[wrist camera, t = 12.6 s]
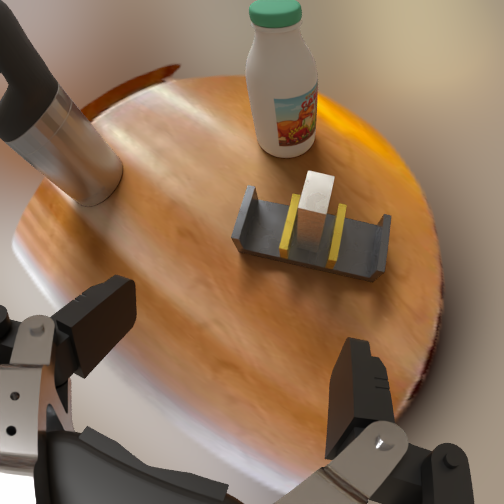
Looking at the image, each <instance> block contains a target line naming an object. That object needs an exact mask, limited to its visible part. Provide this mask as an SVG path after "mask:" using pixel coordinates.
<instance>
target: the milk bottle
mask: <svg viewBox="0 0 504 504" xmlns="http://www.w3.org/2000/svg"><path fill="white" fill-rule="evenodd" d="M249 15H250V19H251V21H252V22H251V25H252V27H253V28H254V29H255V36H254V41H253V44H252V47H251V50H250V52H249V54H248V57H247V61H246V82H247V89H248V94H249V100H250V105H251V110H252V116H253V121H254V126H255V131H256V136H257V140H258V143H259V145H260V146H261V147H262V148H263V149H264V150H265V151H266V152H267V153H269V154H271V155H273V156H276V157H280V158H292V157H296V156H299V155H301V154H303V153H305V152H306V151H307V150H308V149H309V148H310V147H311V146H312V144H313V143H314V140H315V132H316V115H317V90H318V79H317V67H316V63H315V60H314V57H313V55H312V53H311V51H310V49H309V48H308V46H307V45H306V43H305V41H304V39H303V37H302V34H301V32H300V26H301V24H302V20H301V17H302V10H301V6H300V4H299V3H298V2H297V1H295V0H257V1H255V2H254V3H252V4H251V5H250V7H249Z"/></svg>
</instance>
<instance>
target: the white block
mask: <svg viewBox="0 0 504 504" xmlns="http://www.w3.org/2000/svg"><path fill="white" fill-rule="evenodd" d="M334 178H335V177H334V176H330V175H326V174H322V173H318V172H313V171H309V170H308V173H307V177H306V180H305V184H304V188H303V191H302V195H301V198H300V202H299V206H298V228H297V248H300V249H304V250H307V251H311V252H315V253H317V252H318V248H319V244H320V240H321V236H322V232H323V228H324V224H325V219H326V215H327V211H328V206H329V201H330V197H331V192H332V187H333V182H334Z"/></svg>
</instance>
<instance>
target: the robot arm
mask: <svg viewBox="0 0 504 504" xmlns="http://www.w3.org/2000/svg"><path fill="white" fill-rule="evenodd" d="M0 73H2V74H3V76H4V77H5V79H6V81H7V82H8V84H9V85H8V88H7V90H6V92H5V94H4V96H3V97H2V99H1V101H0V138H1V139H2V140H3V141H4V142H5V143H6V144H7V145H9V146H10V147H11V148H12V149H13V150H14V151H16V152H17V153H18V154H19V155H20V156H22V157H23V158H24V159H25V160H26V161H27V162H29V163H30V164H31V165H32V166H33V167H34V168H36V169H37V170H38V171H39V172H41V173H42V174H43V175H44V176H45V177H47V178H48V179H49V180H50V181H51V182H53V183H54V184H55V185H56V186H58V187H59V188H60V189H61V190H63V191H64V192H65V193H66V194H68V195H69V196H70V197H71V198H73V199H74V200H75V201H77V202H78V203H79V204H81V205H83V206H93V205H96V204H99V203H101V202H102V201H104V200H105V199H106V198H107V197H108V196H110V195H111V193H112V192H113V191H114V190H115V188H116V187H117V185H118V183H119V181H120V179H121V176H122V170H123V166H122V162H121V160H120V158H119V157H118V156H117V155H116V154H115V152H114V151H113V150H112V149H111V148H110V146H109V145H108V144H107V143H106V141H105V140H104V139H103V138H102V137H101V135H100V134H99V133H98V132H97V131H96V129H95V128H94V127H93V126H92V124H91V123H90V122H89V121H88V120H87V118H86V117H85V116H84V115H83V113H82V112H81V111H80V110H79V108H78V107H77V106H76V105H75V103H74V102H73V101H72V100H71V99H70V97H69V96H68V95H67V93H66V92H65V91H64V90H63V88H62V87H61V86H60V85H59V83H58V82H57V80H56V79H55V78H54V77H53V75H52V74H51V72H50V71H49V69H48V67H47V66H46V64H45V62H44V61H43V59H42V58H41V57H40V55H39V54H38V53H37V51H36V50H35V48H34V47H33V45H32V44H31V42H30V41H29V39H28V38H27V36H26V34H25V33H24V31H23V29H22V27H21V26H20V24H19V22H18V21H17V19H16V17H15V16H14V14H13V13H12V11H11V10H10V9H9V8H8V6H7V5H6V4H5V3H4V2H3V1H1V0H0ZM136 315H137V311H136V289H135V282H134V281H133V280H131V279H128V278H125V277H122V276H119V275H114V276H113V277H111V278H110V279H108V280H107V281H106V282H104V283H101V284H98V285H95V286H92V287H90V288H89V289H87V290H86V291H85V292H83V293H82V295H79V296H78V297H76V298H75V300H72V301H71V302H70V303H68V304H67V305H66V306H64V307H63V308H62V309H60V310H59V311H58V312H56V313H55V314H54V315H53V316H51V317H48V316H44V315H35V316H31V317H29V318H27V319H25V320H24V321H23V322H18V321H14V320H10V319H9V316H8V312H7V309H6V308H5V307H4V306H2V305H0V504H244V503H242V502H241V501H239V500H238V499H236V498H235V497H233V496H231V495H229V494H227V489H228V486H229V485H228V484H224V483H221V482H217V481H213V480H210V479H207V478H204V477H201V476H198V475H195V474H192V473H187V472H180V471H174V470H167V469H162V468H156V467H151V466H148V465H146V464H144V463H143V462H142V461H140V460H139V459H138V458H136V457H135V456H134V455H132V454H131V453H130V452H129V451H127V450H126V449H125V448H124V447H122V446H121V445H120V444H119V443H118V442H116V441H114V440H112V439H110V438H108V437H106V436H104V435H103V434H101V433H99V432H97V431H95V430H94V429H91V428H90V427H88V426H87V427H86V428H85V429H84V431H83V432H82V433H78V432H75V431H74V428H73V423H72V404H71V379H70V376H71V375H72V374H73V373H75V374H77V375H79V376H80V377H82V378H84V379H85V378H86V377H87V376H88V374H89V373H90V372H91V371H92V370H93V369H94V368H95V367H96V366H97V365H98V364H99V363H100V361H101V360H102V359H103V358H104V357H105V356H106V355H107V354H108V353H109V352H110V351H111V350H112V349H113V347H114V346H115V345H116V344H117V343H118V342H119V341H120V340H121V339H122V338H123V337H124V336H125V335H126V334H127V333H128V332H129V331H130V329H131V328H132V327H133V325H134V323H135V321H136ZM389 389H390V388H389V382H388V376H387V371H386V367H385V366H384V364H383V363H382V361H381V360H380V359H379V357H373V356H371V352H370V345H369V342H368V341H365V340H360V339H355V338H350V337H348V338H347V339H346V341H345V343H344V346H343V348H342V350H341V353H340V355H339V357H338V360H337V362H336V364H335V367H334V369H333V372H332V375H331V379H330V386H329V408H328V424H327V439H326V451H325V459H329V460H332V461H331V462H330V463H329V464H328V465H327V466H325V467H321V468H320V469H318V470H317V471H316V472H314V473H313V474H312V475H311V476H310V477H308V478H307V479H306V480H305V481H303V482H302V483H301V484H299V485H298V486H297V487H296V488H294V489H293V490H292V491H290V492H289V493H288V494H286V495H285V496H283V497H282V498H281V499H279V500H278V501H277V502H275V503H274V504H367V503H368V501H367V500H368V499H369V500H372V501H375V502H378V503H381V504H474V497H473V489H472V482H471V475H470V469H469V463H468V458H467V456H466V454H465V453H464V451H463V450H462V449H461V448H459V447H458V446H457V445H454V444H451V443H443V444H440V445H438V446H437V447H436V448H435V449H434V450H433V451H430V450H427V449H423V448H420V447H418V446H414V445H412V444H410V443H408V439H407V436H406V434H405V432H404V431H403V430H402V429H401V428H400V427H399V426H397V425H396V424H395V420H394V413H393V406H392V400H391V394H390V391H389Z"/></svg>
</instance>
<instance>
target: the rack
mask: <svg viewBox="0 0 504 504" xmlns="http://www.w3.org/2000/svg"><path fill="white" fill-rule="evenodd" d="M299 202H300V195H298V194H293V195H292V199H291V203H290V206H288V205H283V204H278V203H272V202H267V201H262V200H258V197H257V193H256V188H255V186H249V185H248V186H247V189H246V192H245V195H244V198H243V201H242V204H241V208H240V211H239V214H238V217H237V220H236V223H235V226H234V230H233V233H232V236H231V238H232V240H233V242H234V244H235V246H236V248H237V249H238V251H239V252H242V253H246V254H251V255H255V256H259V257H264V258H268V259H273V260H277V261H281V262H286V263H290V264H294V265H299V266H303V267H308V268H312V269H316V270H321V271H325V272H330V273H334V274H338V275H343V276H347V277H352V278H356V279H360V280H365V281H369V282H374V281H375V280H376V279H377V278H378V277H380V276H381V275H382V274H383V273H384V272H385V265H386V258H387V250H388V242H389V233H390V224H391V216H390V215H386V214H384V215H383V216H382V218H381V220H380V221H379V223H378V225H374V224H369V223H365V222H361V221H357V220H352V219H348V218H345V213H346V206H347V205H345V204H340V203H339V205H338V209H337V212H336V216H335V215H330V214H327V215H326V219H325V224H324V228H323V232H322V236H321V240H320V244H319V248H318V252H317V253H315V252H311V251H307V250H304V249H300V248H297V228H298V206H299Z"/></svg>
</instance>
